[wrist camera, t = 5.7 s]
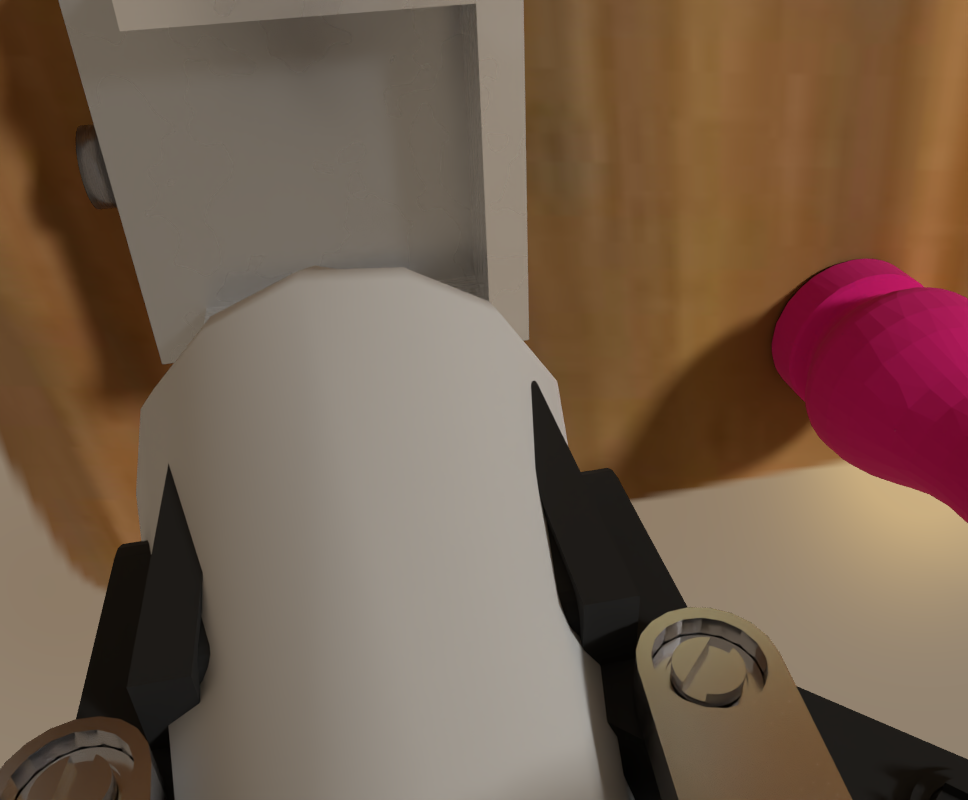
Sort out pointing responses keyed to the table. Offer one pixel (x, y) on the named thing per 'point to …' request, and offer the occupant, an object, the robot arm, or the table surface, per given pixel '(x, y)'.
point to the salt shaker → (371, 552)
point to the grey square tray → (305, 145)
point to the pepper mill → (883, 374)
